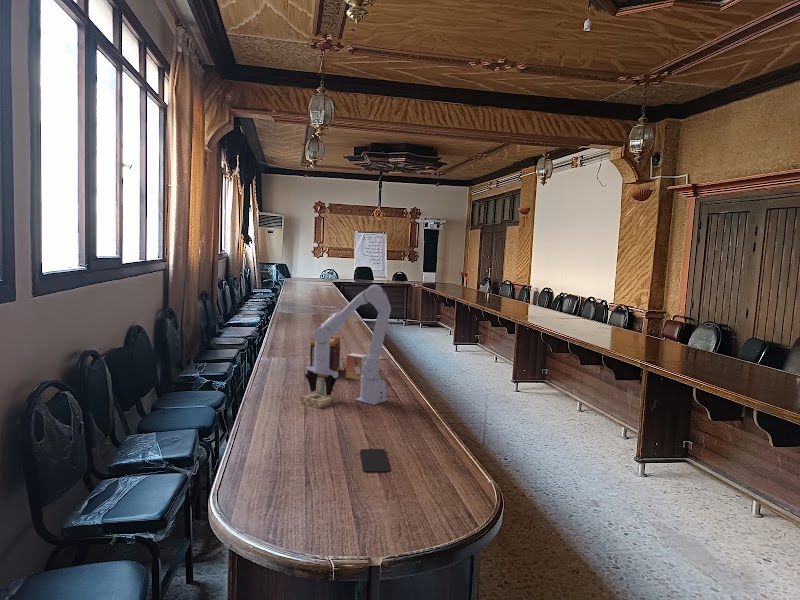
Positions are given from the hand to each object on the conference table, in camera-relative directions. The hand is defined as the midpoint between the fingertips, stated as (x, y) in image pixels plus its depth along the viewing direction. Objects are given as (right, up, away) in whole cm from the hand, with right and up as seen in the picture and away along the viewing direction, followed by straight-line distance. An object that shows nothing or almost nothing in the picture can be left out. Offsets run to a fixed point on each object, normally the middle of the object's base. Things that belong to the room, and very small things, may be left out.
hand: (320, 392), depth 208 cm
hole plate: (-1, -3, -7) cm, 8 cm away
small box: (+11, +1, +32) cm, 34 cm away
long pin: (0, -2, 0) cm, 2 cm away
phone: (+23, -10, -57) cm, 62 cm away
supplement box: (-4, +2, +40) cm, 40 cm away
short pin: (+6, -3, -4) cm, 7 cm away
